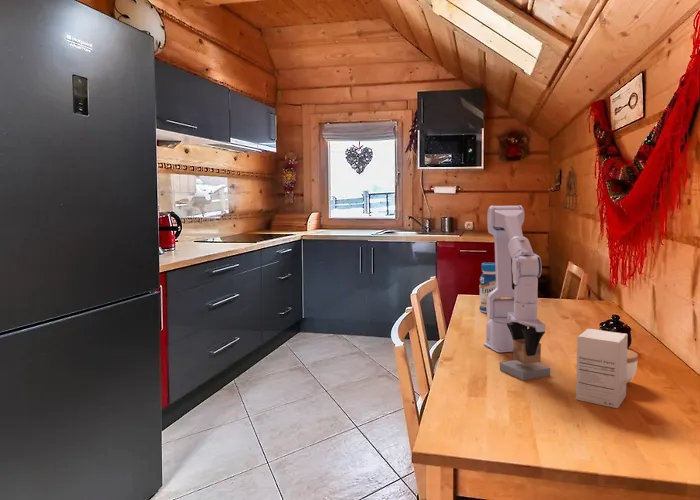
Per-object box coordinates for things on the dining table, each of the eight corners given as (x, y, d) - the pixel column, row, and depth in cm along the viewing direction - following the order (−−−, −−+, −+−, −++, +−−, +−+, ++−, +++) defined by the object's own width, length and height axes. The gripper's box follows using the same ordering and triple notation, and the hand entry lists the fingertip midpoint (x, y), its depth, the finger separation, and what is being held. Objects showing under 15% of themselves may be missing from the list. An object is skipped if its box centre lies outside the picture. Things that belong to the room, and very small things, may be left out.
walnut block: (512, 358, 135) (513, 339, 134) (529, 356, 136) (529, 338, 136) (523, 363, 130) (523, 344, 130) (540, 362, 131) (540, 343, 131)
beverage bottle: (498, 309, 211) (499, 262, 209) (501, 313, 203) (502, 264, 201) (478, 309, 212) (478, 262, 210) (480, 313, 204) (480, 264, 202)
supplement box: (585, 388, 122) (587, 327, 120) (626, 396, 116) (629, 333, 115) (574, 399, 115) (576, 335, 113) (617, 409, 109) (620, 342, 108)
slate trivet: (499, 371, 136) (499, 362, 135) (525, 367, 139) (525, 358, 139) (522, 382, 127) (523, 372, 127) (550, 377, 131) (550, 367, 131)
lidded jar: (611, 392, 119) (612, 353, 118) (579, 377, 129) (580, 341, 128) (647, 387, 122) (649, 349, 121) (613, 373, 132) (614, 338, 131)
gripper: (497, 297, 138) (497, 345, 139) (527, 307, 124) (526, 361, 125) (520, 296, 139) (519, 343, 140) (553, 306, 125) (551, 359, 126)
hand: (524, 352), depth 133 cm, fingers closed on walnut block, 5 cm apart
